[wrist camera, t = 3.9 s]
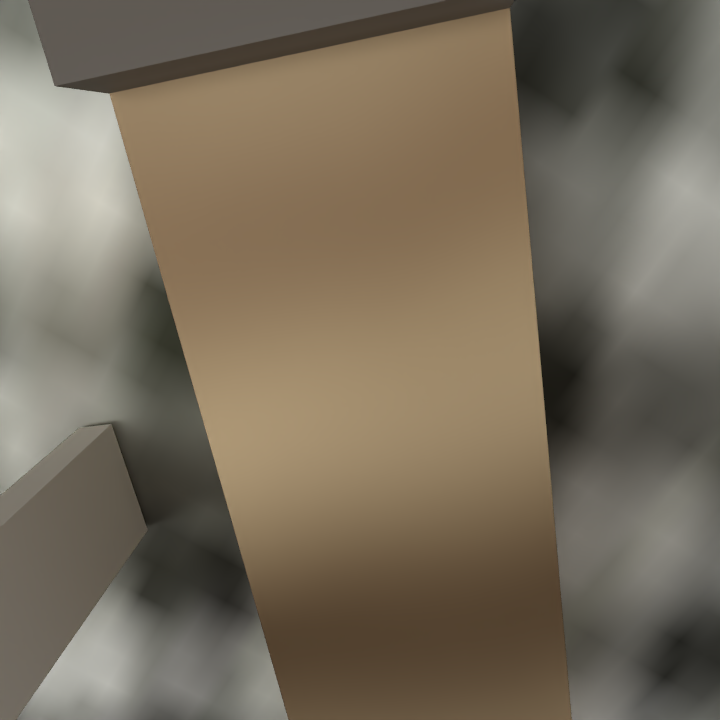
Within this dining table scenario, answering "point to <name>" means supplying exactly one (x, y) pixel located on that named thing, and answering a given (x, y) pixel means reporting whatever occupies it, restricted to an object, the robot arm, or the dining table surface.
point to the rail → (353, 330)
